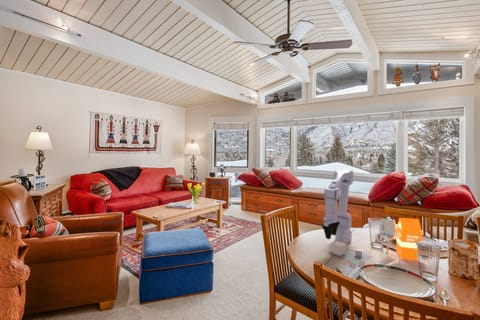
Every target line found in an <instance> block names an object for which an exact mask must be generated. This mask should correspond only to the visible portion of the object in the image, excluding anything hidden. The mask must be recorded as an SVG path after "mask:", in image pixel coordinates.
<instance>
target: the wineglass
mask: <svg viewBox="0 0 480 320" xmlns="http://www.w3.org/2000/svg"><path fill="white" fill-rule="evenodd" d="M378 229H379V235H380V236H381V237H382V239H384V240H386V252H383V254H384V255H387V256H389V257H393V258H397V257H396V255H394V254H392V253H389V242H390V241H392V240H394V239H395V238H397V224H396V221H395V218H393V217H390V216H383V217H381V220H380V225H379V228H378Z"/></svg>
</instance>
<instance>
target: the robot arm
mask: <svg viewBox="0 0 480 320" xmlns="http://www.w3.org/2000/svg"><path fill="white" fill-rule="evenodd" d="M333 177H334V180H332V181H331V183H330V184H329V186H328V187H327V188H325V189H324V191H323V198H324V203H325V216H324V217H323V218H322V220H323V221H324V222H323V223H322V224H321V227H322V229H323V233H324V236H325V239H328V240H331V239H332V236H334V240H335V241H339V242H342V243H344V244H348V243H352V244H353V243H354V242H353V241H352V235H353V234H352V230H351V228H352V224H353V223H352V216H351V215H350V214H349V213H348V212H347V211H348V201H349V192H350V191H349V190H350V186H351V185H353V184H354V183H353V182H354V171H353V170H352V169H338V168H336V169H335V170H334V173H333ZM338 200H339V201H338ZM335 241H334V242H335Z"/></svg>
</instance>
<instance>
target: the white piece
mask: <svg viewBox="0 0 480 320" xmlns="http://www.w3.org/2000/svg"><path fill="white" fill-rule="evenodd" d="M329 247H330V248H329V249H330V251H329V252H331V253H334V254H336V255H339V256H340V255H343V254H346V247H347V243H342V242H339V241H332V242H330V245H329Z"/></svg>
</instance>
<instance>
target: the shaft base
mask: <svg viewBox="0 0 480 320" xmlns="http://www.w3.org/2000/svg"><path fill="white" fill-rule="evenodd" d="M325 253H327V254H328V255H332V256H333V257H336V258H338V259H341V260H343V261H345V262H348V263H350V264H353V265H357V264H360V263H362V262H365V261H368V260H370V259H372V258H374V256H373V255H370V254H367V253H363V250H362V249H358V248H355V249H353V248H350V247H347V246H346V254H343V255H340V256H339V255H336V254H334V253H331V252H330V251H327V252H325Z"/></svg>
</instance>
